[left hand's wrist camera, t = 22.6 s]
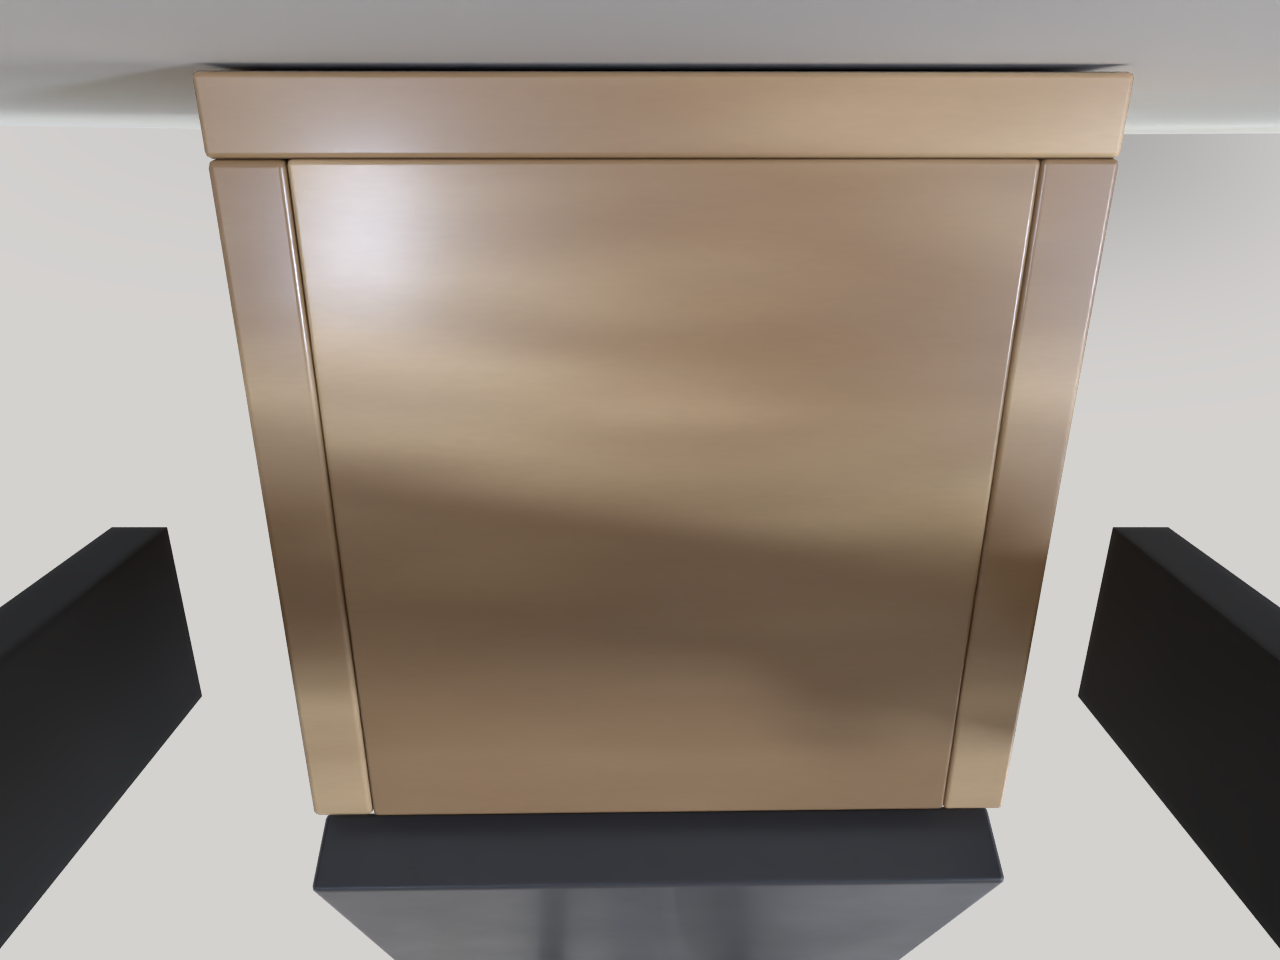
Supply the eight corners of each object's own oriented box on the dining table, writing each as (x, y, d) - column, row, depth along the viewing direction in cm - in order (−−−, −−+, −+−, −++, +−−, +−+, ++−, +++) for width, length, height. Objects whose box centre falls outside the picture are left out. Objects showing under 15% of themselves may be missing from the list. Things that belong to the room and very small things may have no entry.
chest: (811, 119, 24) (790, 437, 27) (467, 118, 24) (488, 439, 27) (1136, 70, 9) (1002, 810, 12) (189, 71, 9) (312, 818, 12)
